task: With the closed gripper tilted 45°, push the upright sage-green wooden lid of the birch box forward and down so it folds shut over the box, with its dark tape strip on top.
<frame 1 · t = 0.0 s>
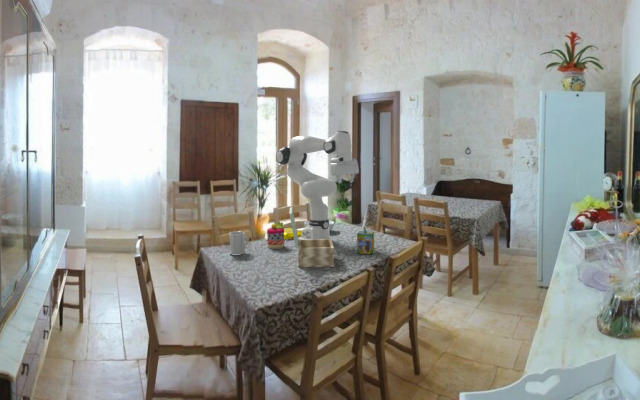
hand: (346, 182, 271), 39 cm above the table, tool pointing down, fingers open, 8 cm apart
lid: (293, 227, 243), point 19 cm above the table, hinge at 100.0°
serving bowl: (319, 232, 323), on the table
cup: (238, 253, 264), on the table
cake: (275, 247, 279), on the table
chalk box: (365, 252, 265), on the table
birch box: (315, 261, 246), on the table
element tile: (288, 237, 308), on the table
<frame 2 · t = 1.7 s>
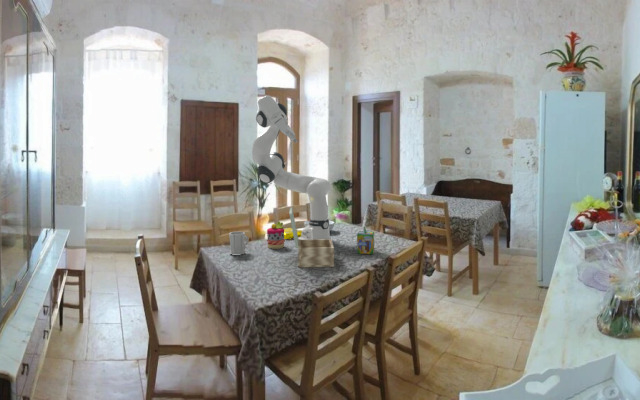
hand: (294, 141, 251), 63 cm above the table, tool tilted 40°, fingers open, 8 cm apart
nothing on the table moved.
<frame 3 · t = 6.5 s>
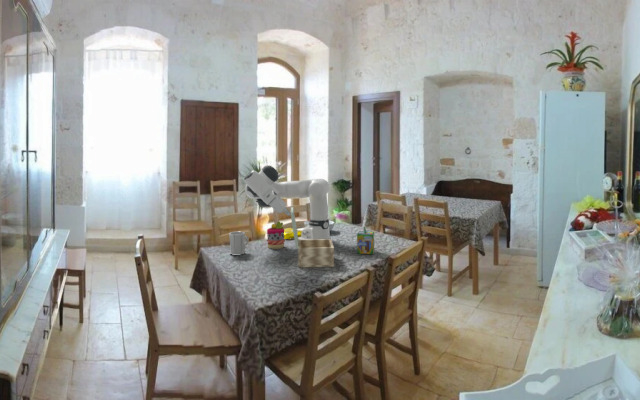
hand: (289, 214, 241), 25 cm above the table, tool tilted 45°, fingers closed, pressing on lid
lid: (294, 226, 243), point 19 cm above the table, hinge at 98.0°, touching gripper
everything else where it was.
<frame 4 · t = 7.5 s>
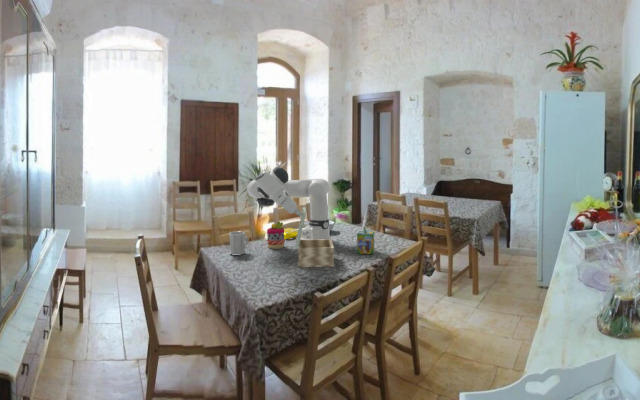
hand: (301, 215, 241), 25 cm above the table, tool tilted 45°, fingers closed, pressing on lid
lid: (300, 226, 243), point 19 cm above the table, hinge at 77.1°, touching gripper
everything else where it was.
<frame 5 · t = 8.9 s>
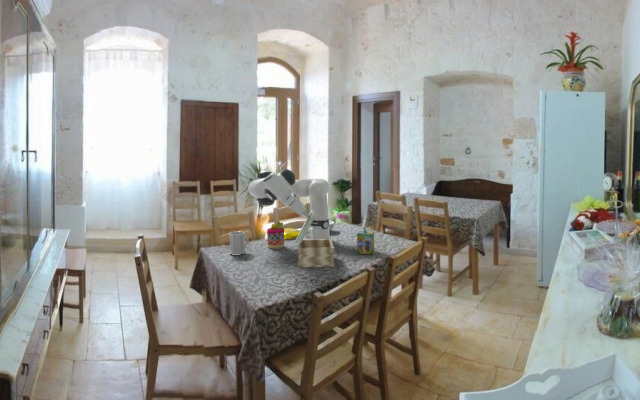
hand: (309, 216, 242), 24 cm above the table, tool tilted 45°, fingers closed, pressing on lid
lid: (305, 227, 243), point 18 cm above the table, hinge at 62.0°, touching gripper
everything else where it was.
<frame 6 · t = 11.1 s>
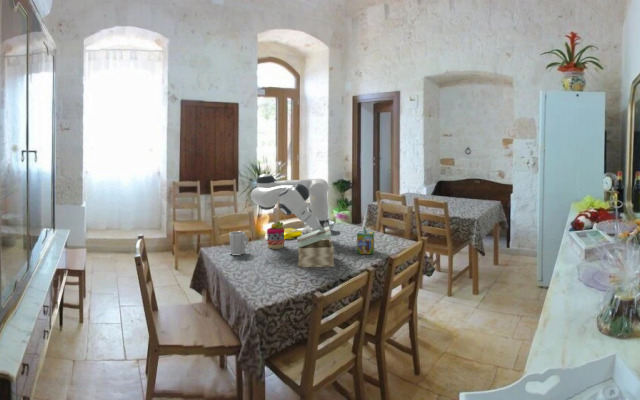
hand: (323, 231, 243), 16 cm above the table, tool tilted 45°, fingers closed
lid: (314, 236, 244), point 14 cm above the table, hinge at 19.1°
everything else where it was.
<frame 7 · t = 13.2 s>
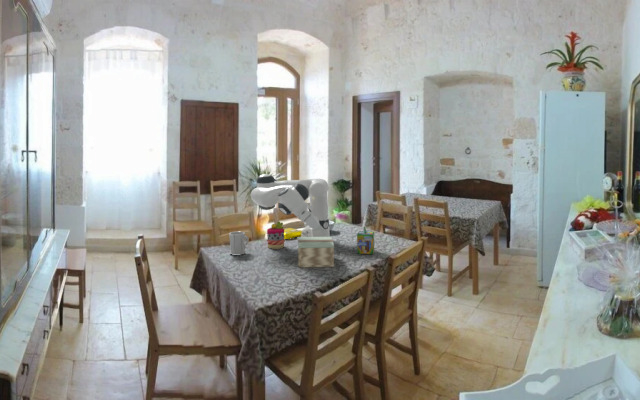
hand: (323, 230, 243), 17 cm above the table, tool tilted 45°, fingers closed
lid: (315, 242, 244), point 11 cm above the table, hinge at -0.1°
everything else where it was.
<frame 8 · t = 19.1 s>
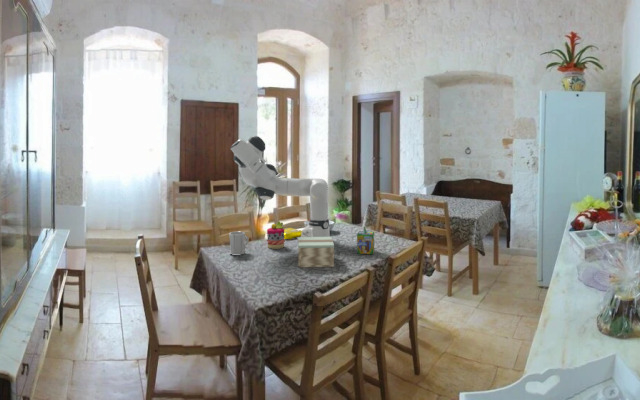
hand: (277, 184, 239), 41 cm above the table, tool tilted 45°, fingers closed
nothing on the table moved.
at the end: lid at +0° (first picture: +100°) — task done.
